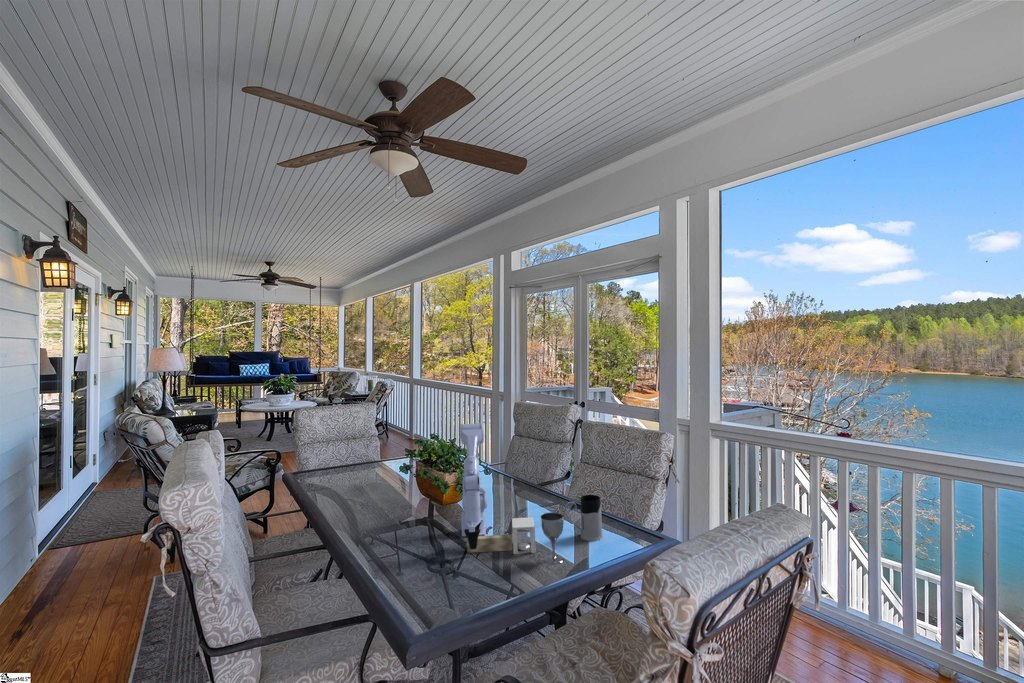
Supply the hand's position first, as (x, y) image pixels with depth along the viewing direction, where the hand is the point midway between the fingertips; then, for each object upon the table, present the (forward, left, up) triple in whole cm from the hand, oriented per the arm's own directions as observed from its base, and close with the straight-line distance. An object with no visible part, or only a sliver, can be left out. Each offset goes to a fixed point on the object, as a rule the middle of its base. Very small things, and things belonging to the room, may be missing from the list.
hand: (474, 544), depth 173 cm
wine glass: (+28, -10, -3) cm, 30 cm away
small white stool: (+18, 0, -2) cm, 19 cm away
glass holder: (+42, +8, -3) cm, 43 cm away
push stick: (+6, 0, -3) cm, 6 cm away
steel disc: (+18, 0, -3) cm, 19 cm away
